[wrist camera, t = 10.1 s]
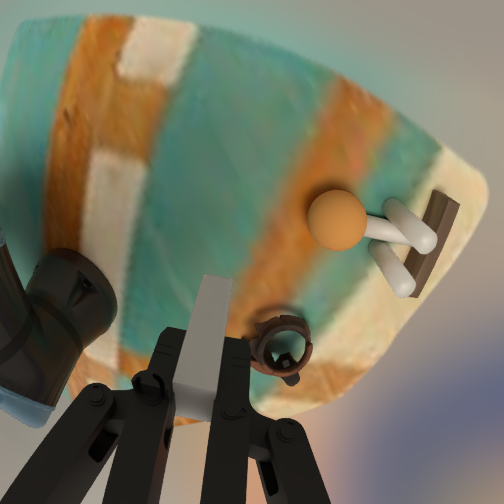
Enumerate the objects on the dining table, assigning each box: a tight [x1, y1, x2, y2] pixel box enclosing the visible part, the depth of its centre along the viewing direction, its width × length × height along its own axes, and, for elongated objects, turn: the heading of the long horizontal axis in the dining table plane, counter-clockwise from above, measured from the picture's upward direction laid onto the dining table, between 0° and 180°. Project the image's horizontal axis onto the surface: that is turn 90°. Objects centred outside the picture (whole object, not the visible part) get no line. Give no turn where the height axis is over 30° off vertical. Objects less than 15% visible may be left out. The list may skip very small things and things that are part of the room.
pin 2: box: [368, 239, 416, 298], centre depth 27 cm, size 2×2×8 cm
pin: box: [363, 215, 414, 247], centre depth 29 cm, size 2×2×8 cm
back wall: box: [404, 190, 460, 298], centre depth 29 cm, size 2×13×4 cm, turn 170°
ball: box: [307, 190, 367, 251], centre depth 26 cm, size 6×6×6 cm
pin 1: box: [382, 198, 437, 254], centre depth 25 cm, size 2×2×8 cm
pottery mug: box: [242, 315, 313, 386], centre depth 36 cm, size 12×9×8 cm
